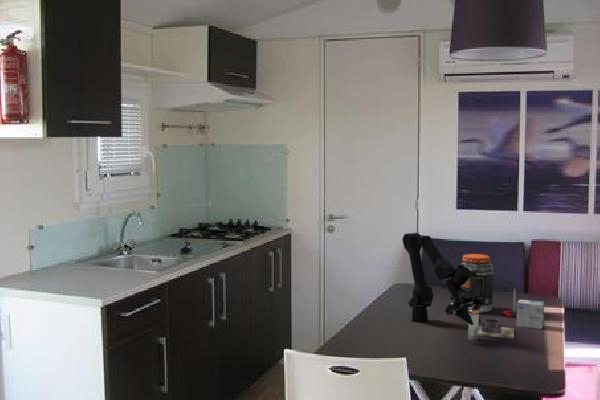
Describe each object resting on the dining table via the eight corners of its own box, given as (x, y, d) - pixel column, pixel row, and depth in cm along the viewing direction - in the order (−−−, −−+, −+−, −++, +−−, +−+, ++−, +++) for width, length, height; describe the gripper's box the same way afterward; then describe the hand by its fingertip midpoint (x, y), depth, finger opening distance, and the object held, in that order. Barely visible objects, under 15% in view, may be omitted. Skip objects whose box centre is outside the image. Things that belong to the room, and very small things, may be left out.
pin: (467, 339, 281) (468, 310, 279) (468, 337, 284) (469, 308, 283) (477, 340, 279) (478, 311, 278) (478, 337, 283) (479, 309, 282)
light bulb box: (543, 325, 303) (544, 301, 302) (541, 329, 297) (542, 304, 296) (518, 322, 308) (519, 298, 307) (516, 326, 302) (516, 302, 301)
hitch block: (468, 334, 288) (469, 322, 288) (469, 326, 300) (470, 315, 299) (513, 338, 283) (514, 326, 283) (513, 330, 295) (513, 319, 294)
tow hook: (501, 312, 327) (504, 316, 318) (502, 285, 326) (505, 288, 317) (520, 313, 326) (523, 317, 316) (521, 286, 325) (524, 289, 316)
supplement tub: (495, 308, 333) (497, 254, 331) (488, 315, 320) (490, 259, 317) (462, 304, 341) (464, 252, 338) (454, 311, 327) (455, 256, 324)
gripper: (451, 283, 278) (471, 316, 270) (483, 278, 288) (503, 309, 280) (436, 298, 285) (455, 331, 277) (468, 293, 295) (487, 324, 287)
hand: (476, 323), depth 280 cm, fingers closed on pin, 4 cm apart
